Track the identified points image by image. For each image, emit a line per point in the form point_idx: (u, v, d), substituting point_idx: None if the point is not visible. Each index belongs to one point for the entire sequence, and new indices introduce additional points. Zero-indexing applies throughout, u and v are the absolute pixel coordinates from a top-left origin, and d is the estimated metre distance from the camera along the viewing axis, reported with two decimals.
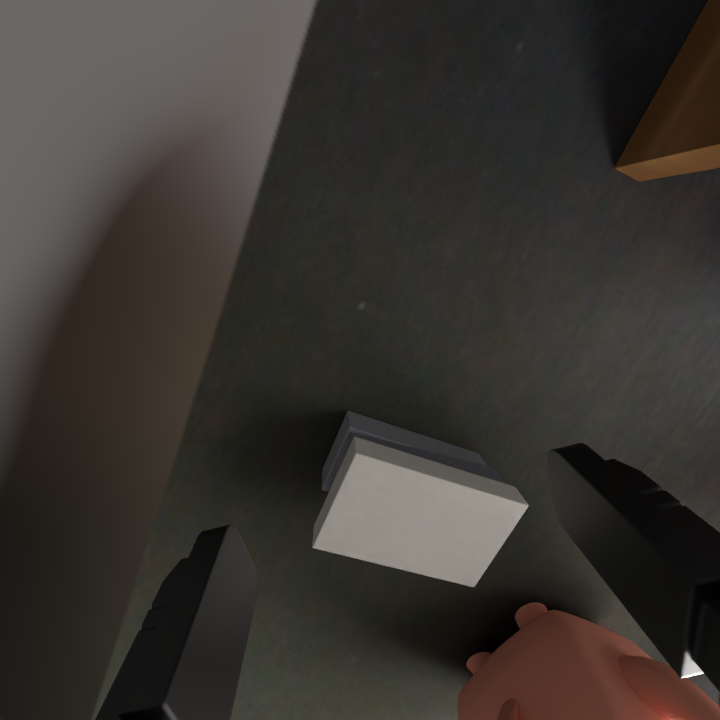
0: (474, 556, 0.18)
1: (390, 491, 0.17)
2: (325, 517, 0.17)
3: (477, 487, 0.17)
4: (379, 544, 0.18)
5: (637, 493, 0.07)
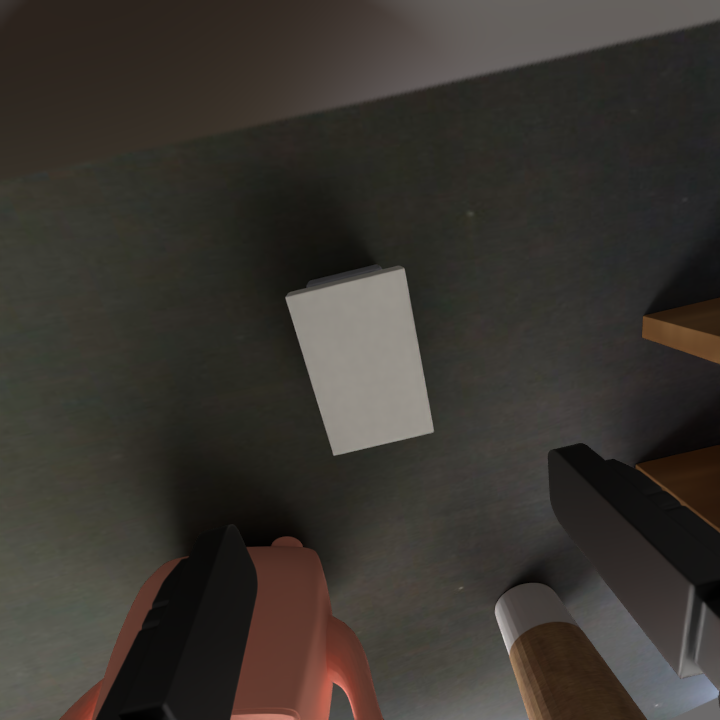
0: (364, 431, 0.20)
1: (384, 321, 0.17)
2: (324, 287, 0.17)
3: None
4: (327, 350, 0.18)
5: (637, 493, 0.07)
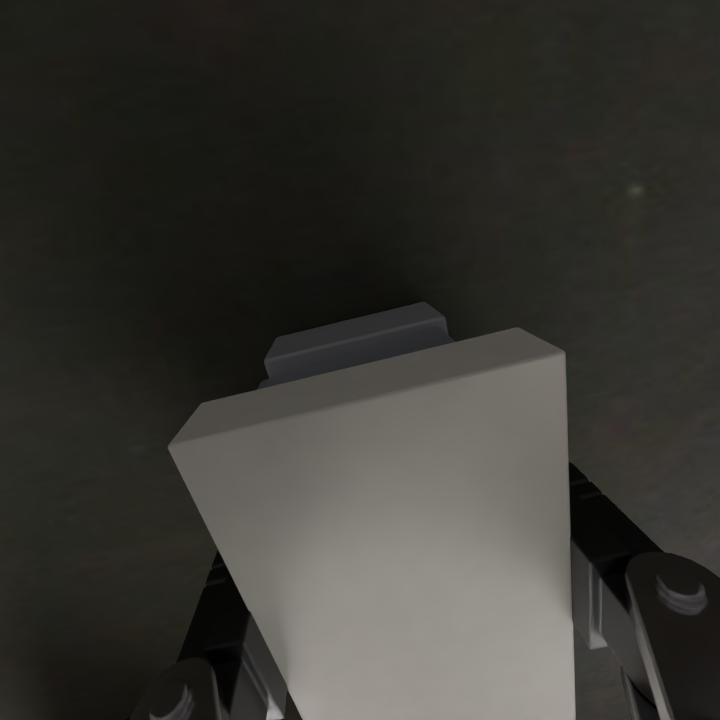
0: None
1: (484, 502, 0.06)
2: (296, 412, 0.05)
3: None
4: (310, 579, 0.06)
5: None
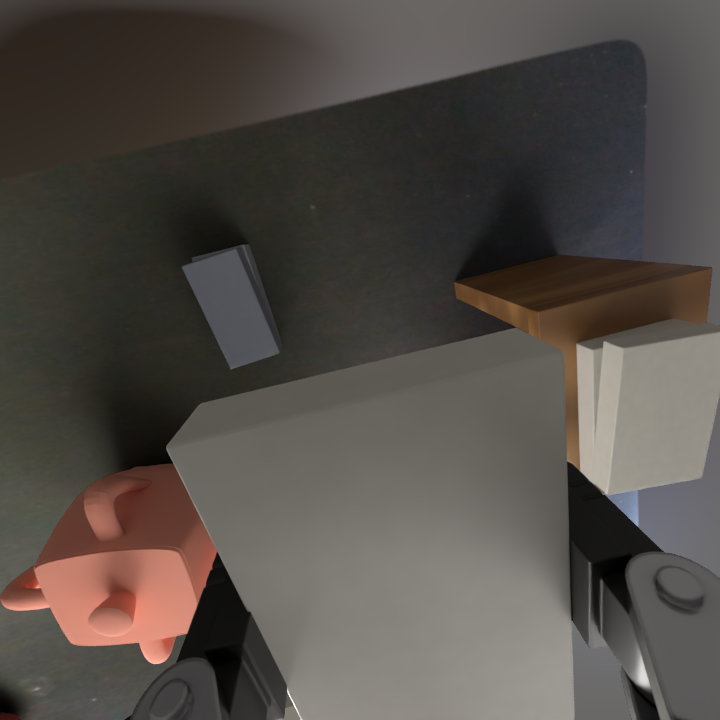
0: None
1: (482, 503, 0.06)
2: (294, 413, 0.05)
3: None
4: (308, 580, 0.06)
5: None
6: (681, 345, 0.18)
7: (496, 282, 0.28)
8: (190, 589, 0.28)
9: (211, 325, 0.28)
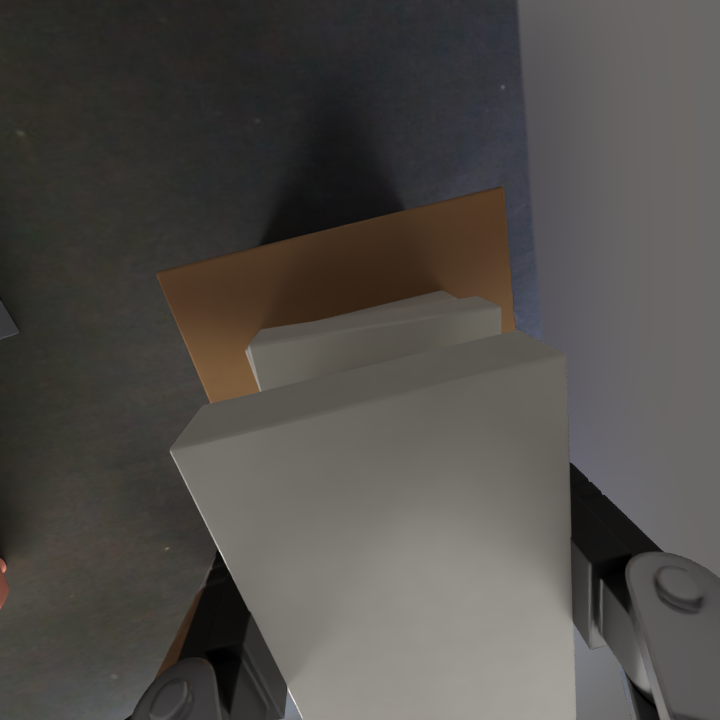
0: None
1: (485, 506, 0.06)
2: (298, 415, 0.05)
3: None
4: (311, 581, 0.06)
5: None
6: (385, 341, 0.08)
7: None
8: None
9: None
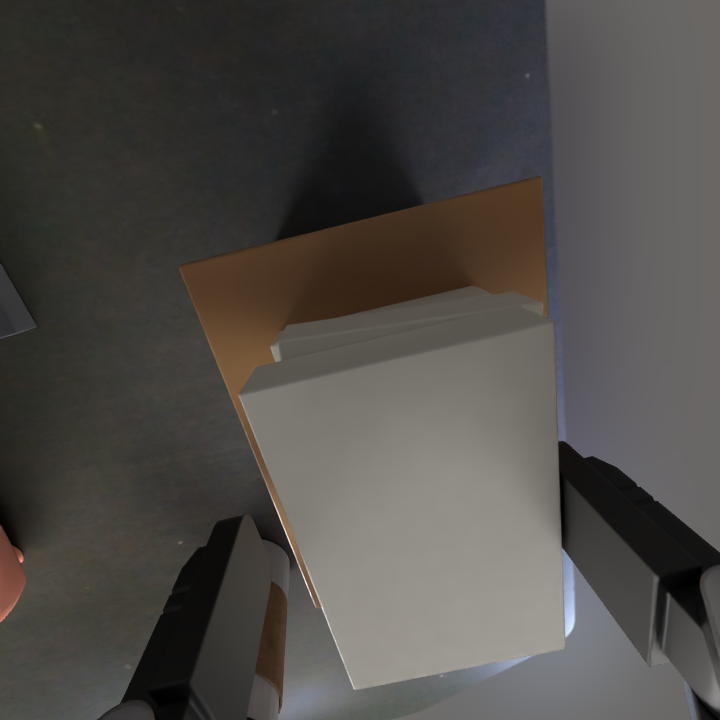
0: (420, 652, 0.09)
1: (488, 447, 0.07)
2: (339, 368, 0.06)
3: None
4: (344, 510, 0.07)
5: (611, 488, 0.07)
6: None
7: None
8: None
9: None
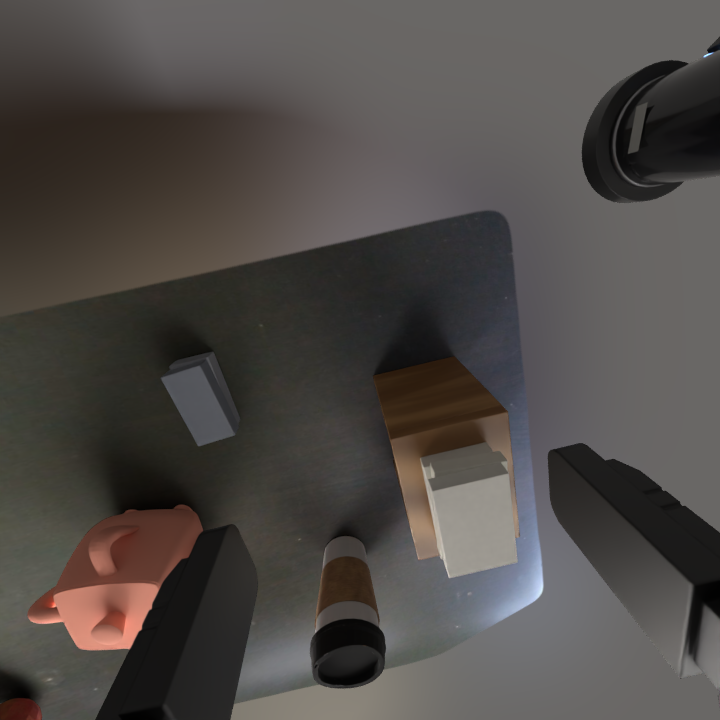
0: (471, 563, 0.29)
1: (493, 501, 0.27)
2: (457, 484, 0.26)
3: None
4: (454, 519, 0.27)
5: (637, 493, 0.07)
6: None
7: (394, 387, 0.38)
8: None
9: (183, 416, 0.38)
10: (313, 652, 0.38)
